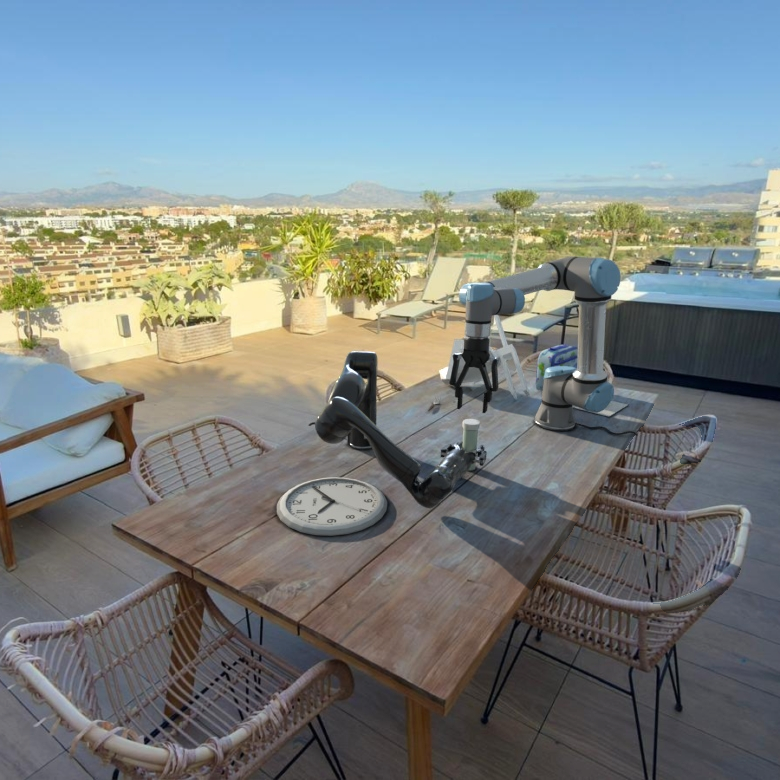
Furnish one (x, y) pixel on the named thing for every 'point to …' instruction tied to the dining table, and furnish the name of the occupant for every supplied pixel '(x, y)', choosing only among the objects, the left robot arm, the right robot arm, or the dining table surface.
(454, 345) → the white plastic object
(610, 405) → the invitation card
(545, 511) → the dining table surface
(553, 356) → the lunch box
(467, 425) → the lid
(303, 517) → the wall clock
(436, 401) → the fork
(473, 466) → the pale green cylinder
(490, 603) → the dining table surface
